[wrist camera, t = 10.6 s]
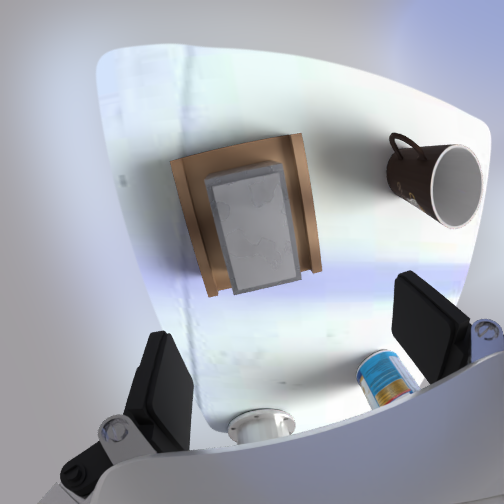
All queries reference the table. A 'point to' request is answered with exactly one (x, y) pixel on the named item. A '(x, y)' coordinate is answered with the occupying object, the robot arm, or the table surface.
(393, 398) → the beverage bottle
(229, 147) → the stand
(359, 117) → the table surface
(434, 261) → the table surface
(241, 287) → the block
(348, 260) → the table surface
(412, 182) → the coffee mug
